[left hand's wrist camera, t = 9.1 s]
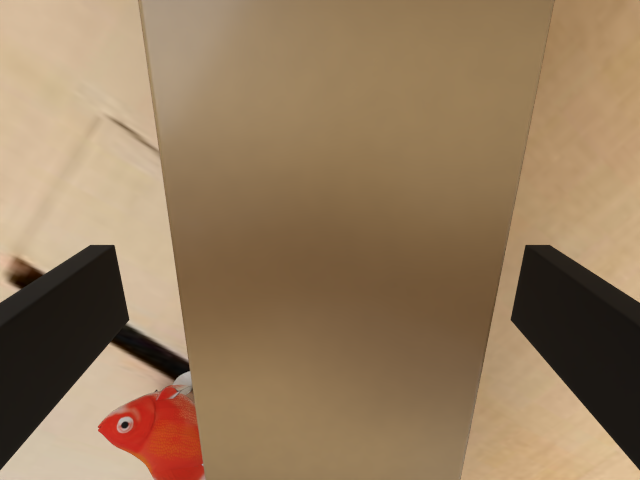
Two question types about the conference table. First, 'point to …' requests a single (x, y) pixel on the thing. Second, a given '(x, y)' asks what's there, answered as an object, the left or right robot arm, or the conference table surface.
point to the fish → (160, 432)
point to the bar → (340, 220)
